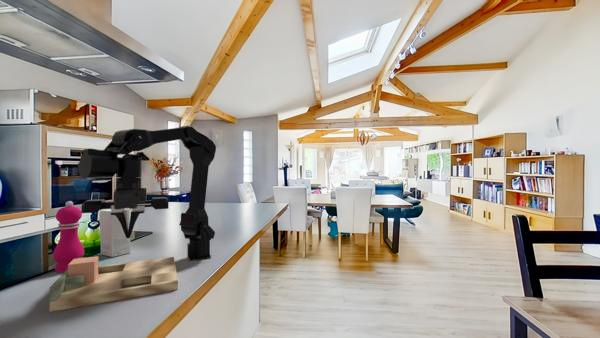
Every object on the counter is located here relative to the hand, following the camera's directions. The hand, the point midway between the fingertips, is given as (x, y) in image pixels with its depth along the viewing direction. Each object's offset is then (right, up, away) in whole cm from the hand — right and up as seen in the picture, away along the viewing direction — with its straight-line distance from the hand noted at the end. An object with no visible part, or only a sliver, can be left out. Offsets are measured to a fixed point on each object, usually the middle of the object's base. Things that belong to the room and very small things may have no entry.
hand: (128, 237), depth 73 cm
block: (-8, -9, -4) cm, 13 cm away
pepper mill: (-24, -12, +10) cm, 29 cm away
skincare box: (-20, -12, +26) cm, 35 cm away
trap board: (-1, -11, 0) cm, 11 cm away
